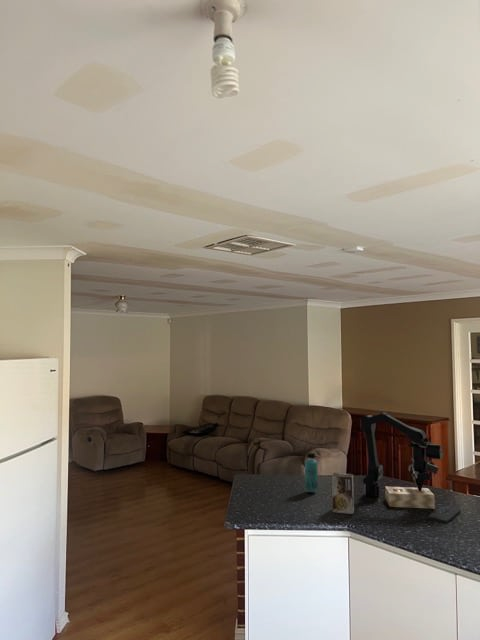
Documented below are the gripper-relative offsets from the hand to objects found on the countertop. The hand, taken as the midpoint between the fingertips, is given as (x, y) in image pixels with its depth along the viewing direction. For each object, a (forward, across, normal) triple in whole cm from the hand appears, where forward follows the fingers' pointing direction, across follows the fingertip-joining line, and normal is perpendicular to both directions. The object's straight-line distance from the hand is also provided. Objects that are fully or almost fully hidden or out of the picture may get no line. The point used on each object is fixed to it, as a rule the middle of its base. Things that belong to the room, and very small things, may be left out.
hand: (419, 490), depth 222 cm
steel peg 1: (+6, 0, +10) cm, 12 cm away
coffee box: (+6, -16, +37) cm, 41 cm away
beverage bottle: (+6, +11, +51) cm, 52 cm away
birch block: (+6, 0, +5) cm, 8 cm away
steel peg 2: (+6, 0, 0) cm, 6 cm away
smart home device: (+7, -15, -7) cm, 18 cm away
